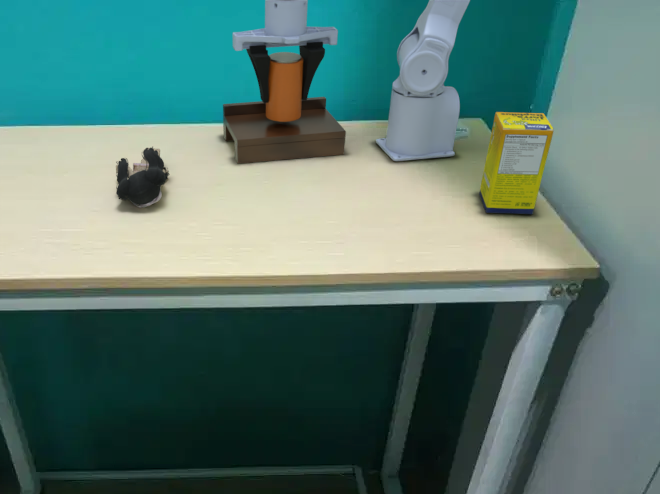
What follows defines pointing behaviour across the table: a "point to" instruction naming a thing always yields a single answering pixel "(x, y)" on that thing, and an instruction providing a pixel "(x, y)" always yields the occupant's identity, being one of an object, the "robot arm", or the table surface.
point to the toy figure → (142, 178)
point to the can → (285, 87)
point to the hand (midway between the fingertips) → (283, 99)
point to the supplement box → (515, 162)
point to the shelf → (282, 132)
